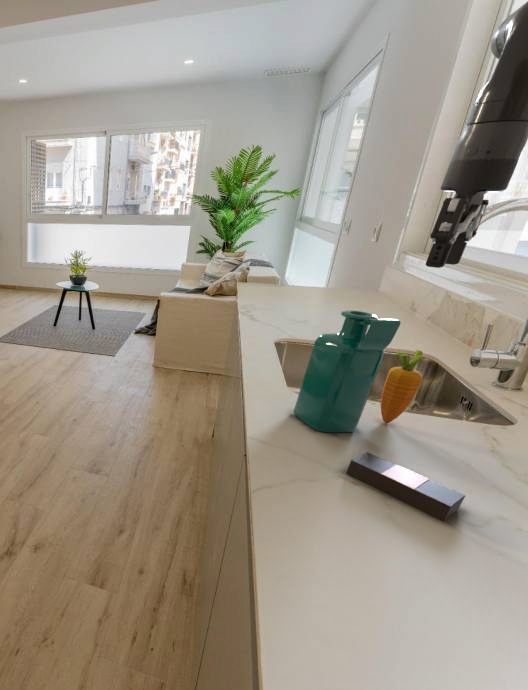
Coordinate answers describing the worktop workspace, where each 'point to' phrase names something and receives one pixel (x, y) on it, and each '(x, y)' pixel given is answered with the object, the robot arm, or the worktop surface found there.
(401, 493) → the snack bar
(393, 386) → the carrot
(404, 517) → the worktop surface
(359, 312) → the pitcher
